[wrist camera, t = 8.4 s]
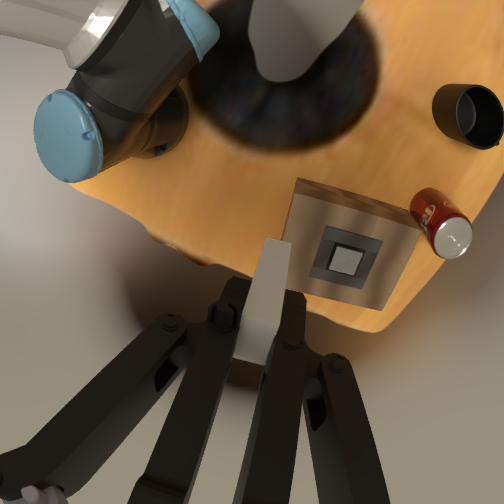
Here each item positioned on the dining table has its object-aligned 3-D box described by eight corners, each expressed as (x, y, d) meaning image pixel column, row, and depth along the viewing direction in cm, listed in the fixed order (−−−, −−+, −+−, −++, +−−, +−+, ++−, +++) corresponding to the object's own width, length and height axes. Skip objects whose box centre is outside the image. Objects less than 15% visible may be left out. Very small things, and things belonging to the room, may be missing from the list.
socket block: (275, 258, 55) (270, 285, 48) (297, 177, 47) (294, 193, 40) (375, 284, 54) (381, 312, 47) (407, 210, 46) (422, 231, 39)
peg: (326, 244, 51) (328, 269, 44) (334, 224, 49) (337, 246, 42) (348, 250, 51) (353, 275, 44) (356, 230, 49) (362, 253, 42)
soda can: (413, 231, 47) (435, 267, 37) (404, 194, 45) (428, 224, 34) (447, 218, 45) (475, 252, 34) (440, 182, 42) (471, 208, 32)
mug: (469, 159, 38) (495, 173, 31) (421, 114, 37) (444, 120, 30) (493, 119, 34) (522, 128, 26) (447, 72, 32) (473, 71, 25)
